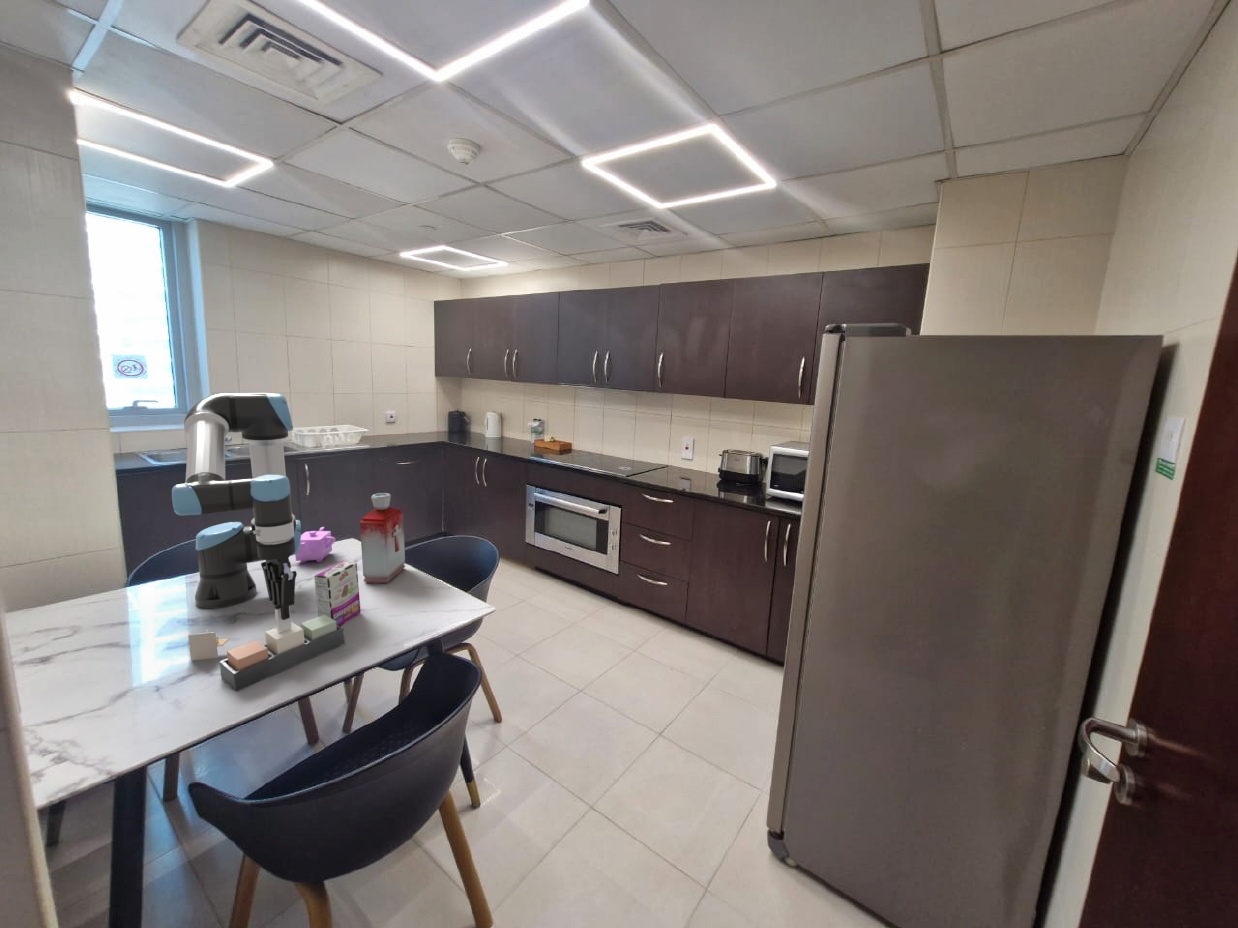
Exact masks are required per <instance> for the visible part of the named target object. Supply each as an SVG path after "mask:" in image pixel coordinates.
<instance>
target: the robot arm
mask: <svg viewBox="0 0 1238 928" xmlns="http://www.w3.org/2000/svg"><path fill="white" fill-rule="evenodd" d="M183 421H184V423H183V427H184V432H185V434H187V436H188V437H187V449H186V450H187V451H186V455H187V456H186V467H185V469H186V470H185V481H184V482H183V483H179V484H175V485H173V487H172V489H171V501H172V502H171V503H172V507H173V511H174V513H175V514H176V515H178V516H193V515H194V516H196V515H197V516H199V515H208V514H215V513H224V512H225V513H226V512H233V511H243V510H252V512H253V518H252V519H251V521H250V523H251V525H245V526H244V524H243V523H242V522H241V521H228V522H224V523H220V524H216V525H215V524H214V525H212V526H209V527H207V528H204V529H202V530H201V531H200V532H198V533H197V534H196V536H195V548H194V549H195V551H196V554H197V563H198V571H199V580H198V581H199V582H198V585H197V587H196V588H197V589H196V592H195V595H194V600H195V605H196V606H197V607H199V608H202V609H216V608H217V609H219V608H224V607H229V606H233V605H238V604H240V603H242V602H245V601H247V600H249V599H251V598H253V597H254V596H255V595H256V594H257V592H258V591H257V584H256V582H255V581H254V579H253V577H252V575H251V573H250V571H249V570H248V569H249V568H248V564H250V563H256V562H261V563H260V566H261V568H262V571H263V576H264V580H265V584H266V591H267V595H268V600H269V602H272V605H273V606H274V615H275V626H276V627H275V628H277V631H278V632H279V633H281V632H283V631H286V630H289V629H291V628H292V626H291V622H292V617H291V616H292V615H291V606H294V605H295V595H296V593H295V592H296V577H297V575H298V574H297V573H298V572H297V571H296V570H293V571H292V570H291V569H292V563H291V561H290V559H289V558H290V557H291V556H295V554H297V553H298V551H299V548H300V541H301V535H302V532H301V531H302V523H301V520H300V519H296V516H295V514H293V512H292V511H293V508H292V507H293V506H292V497H291V496H292V495H291V492H292V488H291V484H290V479H289V478H288V476H287V474H286V473H287V472H286V461H285V451H284V449H285V448H284V442H285V440H286V439H287V438H289V432H291V431H294V426H293V420H292V416H291V412H290V408H289V404H288V401H287V398H286V396H284V395H283V394H281V393H274V392H273V393H272V392H271V393H270V392H233V393H232V392H221V393H215V394H212V395H208V396H207V397H204V398H202V399H201V400H200V401H198V402H196V403H195V404H194V405H193V406H192V407H191V408H190V409H189V410H188V412H187V413H186V415H185V417H184V420H183ZM228 433H241V438H242V439H243V440H244V441H246V442H247V443H248V447H249V456H250V458H249V459H250V465H251V475H252V478H243V479H241V478H240V479H230V480H229V479H227V480H226V444H225V443H226V441H225V439H226V438H225V437H226V436H227V435H228Z"/></svg>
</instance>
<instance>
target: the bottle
mask: <svg viewBox="0 0 1238 928" xmlns="http://www.w3.org/2000/svg"><path fill="white" fill-rule="evenodd" d="M391 497H392V494H391V493H387V492H377V493H375V494H372V495H371V497H370V498H371V502H372V505H373V509H372V510H371V511H369V512H368V513H367V514H366V515H365V516H363V517H362V519H361V520H360V521H359V527H360V528H359V529H360V530H359V531H360V547H361V560H362V561H361V564H362V575H363V577H364V578H363V582H365V583H367V584H368V583H369V584H385V585H386V584H388V583H389V582H390V581H391V580H392V579H393V578H394V577H395V576H396V575H398V574H399V573H400V572H401V571H403V569H405V568H406V565H405V563H406V555H405V554H406V553H405V552H406V551H405V531H404V530H405V528H404V527H405V526H404V512H403V511H402V510H401V509H400V508H396V507H390V502H391Z"/></svg>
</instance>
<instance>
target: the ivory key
mask: <svg viewBox="0 0 1238 928" xmlns="http://www.w3.org/2000/svg"><path fill="white" fill-rule="evenodd" d="M291 626H292V628H291V629H289V630H286V631H283V632H281V633H279V632H278V631H277V627H275V628H272V629H269V630H267V631H264V635H265V642H266V643H265V644H267V648H268V650H269V651H270V652H271V653H273V654H274V655H278V654H280V653H282V652H285V651H287V650H290V649H292V648H295V647H297V646H300V645H302V644H304V631H303V629H302V628H301V626H299V625H297V624H296V623H294V622H293V621H291Z"/></svg>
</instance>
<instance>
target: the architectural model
mask: <svg viewBox="0 0 1238 928" xmlns="http://www.w3.org/2000/svg"><path fill="white" fill-rule="evenodd" d="M208 631H209V629H207V630H206V631H205V632H203V633H192V634H191V633H190V634H188V636H187V637H188V643H189V647H188V648H189V653H190V654H189V655H190V661H200V660H201V661H202V660H208V659H218V658H219V651H218V648H219V647H223V646H225V645H226V643H227V642H228V641H229V638H228V637H227V638H219V636H217V637H216V633H217V632H215V631H213V632H211V631H210V632H208Z"/></svg>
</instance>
